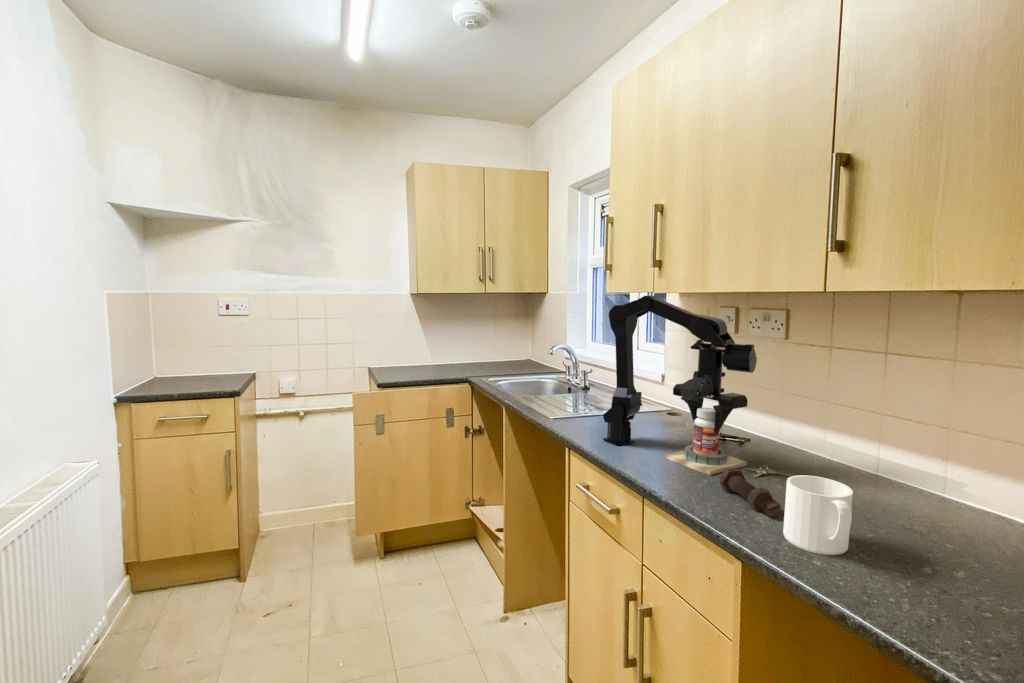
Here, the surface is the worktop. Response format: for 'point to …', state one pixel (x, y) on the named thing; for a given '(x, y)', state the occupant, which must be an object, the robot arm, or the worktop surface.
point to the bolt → (749, 492)
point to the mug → (818, 514)
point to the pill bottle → (705, 432)
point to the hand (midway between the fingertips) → (706, 428)
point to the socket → (706, 460)
